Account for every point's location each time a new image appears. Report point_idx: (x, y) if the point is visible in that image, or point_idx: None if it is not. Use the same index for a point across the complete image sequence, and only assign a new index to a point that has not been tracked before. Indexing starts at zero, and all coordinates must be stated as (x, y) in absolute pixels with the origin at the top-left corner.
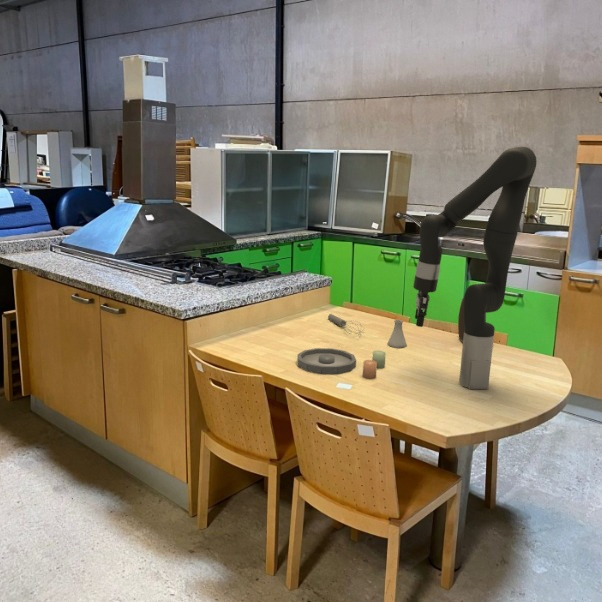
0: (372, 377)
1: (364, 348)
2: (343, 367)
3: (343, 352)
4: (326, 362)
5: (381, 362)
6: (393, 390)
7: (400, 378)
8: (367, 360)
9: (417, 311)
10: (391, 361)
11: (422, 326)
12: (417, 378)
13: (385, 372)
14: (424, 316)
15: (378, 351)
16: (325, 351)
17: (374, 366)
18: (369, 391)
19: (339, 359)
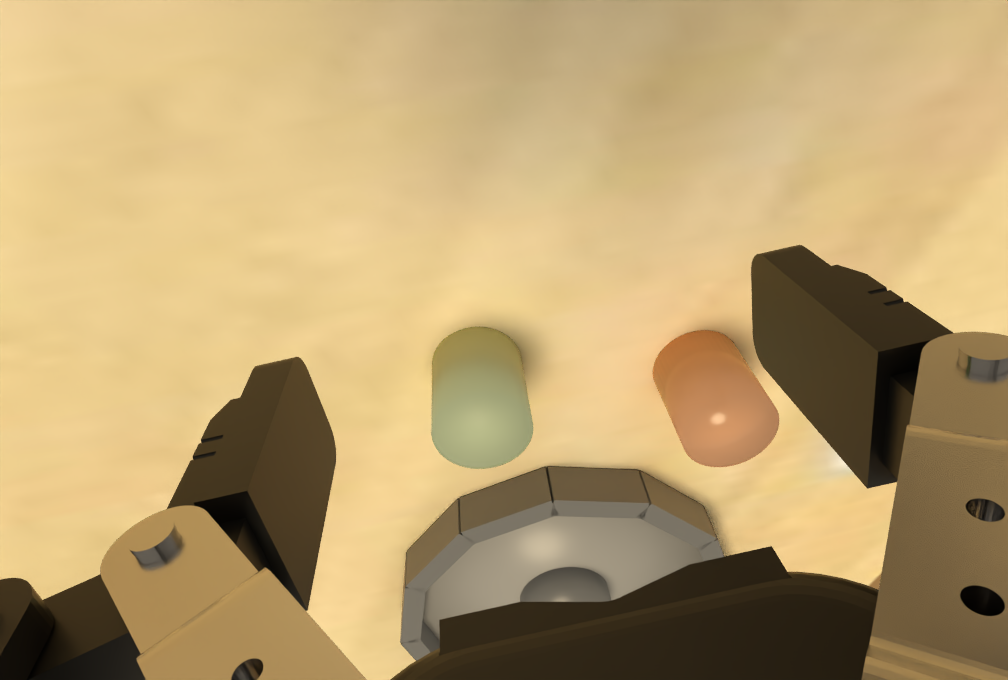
0: (734, 346)
1: (154, 513)
2: (686, 515)
3: (431, 582)
4: (609, 592)
5: (516, 366)
6: (934, 177)
7: (680, 178)
8: (696, 452)
9: (305, 532)
10: (323, 312)
11: (797, 246)
12: (643, 47)
13: (585, 298)
14: (928, 340)
15: (455, 441)
16: (432, 642)
17: (760, 387)
18: (958, 306)
19: (506, 561)
